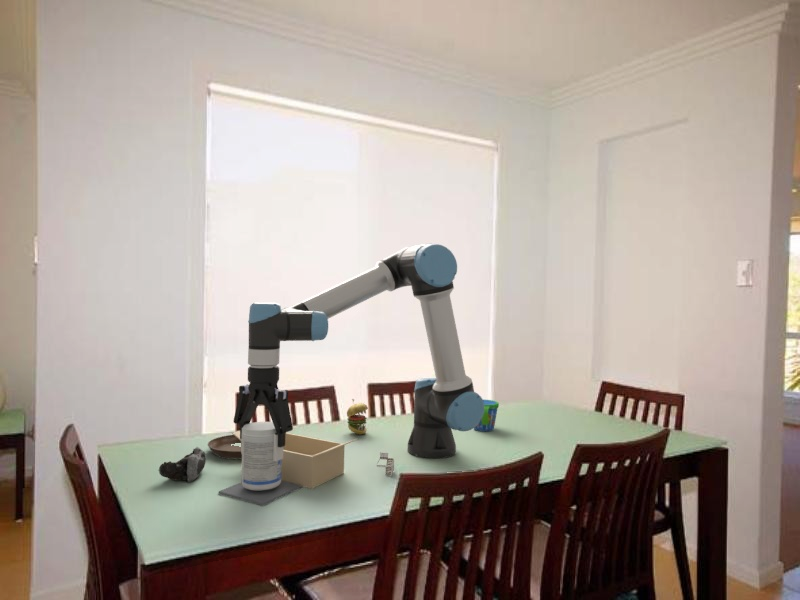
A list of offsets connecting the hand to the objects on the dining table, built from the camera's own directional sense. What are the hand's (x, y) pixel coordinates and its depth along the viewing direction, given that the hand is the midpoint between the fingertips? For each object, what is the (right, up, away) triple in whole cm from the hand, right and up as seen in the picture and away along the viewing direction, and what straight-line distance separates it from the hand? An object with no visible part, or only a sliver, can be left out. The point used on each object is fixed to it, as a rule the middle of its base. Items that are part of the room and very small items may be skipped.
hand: (261, 456), depth 138 cm
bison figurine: (-23, -8, +9) cm, 25 cm away
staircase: (+30, -10, +15) cm, 35 cm away
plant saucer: (-14, -8, +32) cm, 36 cm away
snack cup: (+65, -9, +67) cm, 94 cm away
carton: (+5, -8, +14) cm, 17 cm away
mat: (0, -9, 0) cm, 9 cm away
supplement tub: (0, -7, 0) cm, 7 cm away
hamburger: (+19, -8, +57) cm, 60 cm away
